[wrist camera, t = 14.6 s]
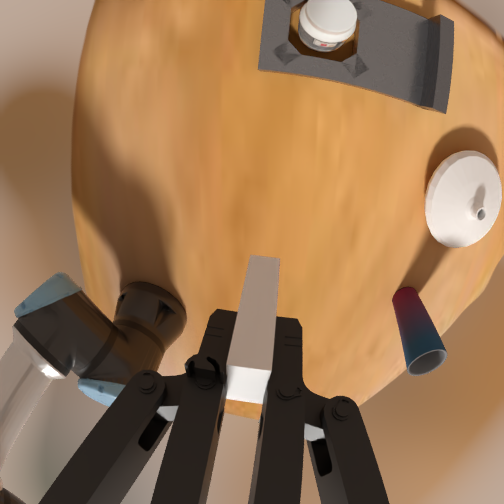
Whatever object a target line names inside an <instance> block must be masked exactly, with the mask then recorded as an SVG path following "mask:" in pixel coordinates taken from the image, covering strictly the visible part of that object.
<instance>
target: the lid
mask: <svg viewBox="0 0 504 504" xmlns="http://www.w3.org/2000/svg"><path fill="white" fill-rule="evenodd" d="M501 199H502V189H501V181H500V177H499V174H498V171H497V169H496V167H495V165H494V164H493V162H492V161H491V160H490V159H489V158H488V157H487V156H486V155H484V154H482V153H480V152H477V151H468V150H465V151H460V152H457V153H454V154H451V155H450V156H449V157H447V158H446V159H445V160H443V161H442V162H441V163H440V165H439V166H438V167H437V168H436V170H435V171H434V173H433V175H432V177H431V179H430V181H429V183H428V187H427V190H426V194H425V206H424V209H425V215H426V221H427V225H428V227H429V229H430V232H431V234H432V235H433V236H434V238H435V239H436V240H437V241H438V242H439V243H441V244H443V245H445V246H447V247H453V248H459V247H466V246H469V245H471V244H473V243H475V242H477V241H478V240H480V239H481V238H482V237H484V236H485V234H486V233H487V232H488V231H489V230H490V229H491V227H492V225H493V224H494V222H495V220H496V218H497V216H498V213H499V210H500V206H501Z"/></svg>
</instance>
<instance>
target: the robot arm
mask: <svg viewBox="0 0 504 504" xmlns="http://www.w3.org/2000/svg"><path fill="white" fill-rule="evenodd" d="M279 267H280V258H272V257H264V256H256V255H250V259H249V264H248V268H247V273H246V277H245V282H244V286H243V291H242V295H241V300H240V305H239V309H238V312H235V311H228V310H222V309H217V310H216V311H215V312H214V313H213V314H212V315H211V316H210V318H209V321H208V324H207V328H206V330H205V334H204V337H203V340H202V343H201V346H200V350H199V353H198V354H196V355H193V356H192V357H190V358H189V359H188V360H187V362H186V363H185V370H186V373H184V374H182V375H176V376H162V375H160V374H159V373H158V372H157V370H158V368H159V365H160V363H161V360H162V358H163V355H164V353H165V351H166V350H167V349H168V348H169V347H170V346H171V345H172V344H173V342H174V341H175V340H176V339H177V338H178V337H179V336H180V335H181V334H182V332H183V330H184V327H185V325H186V314H185V311H184V309H183V307H182V306H181V304H180V303H179V302H178V301H177V300H176V299H175V298H174V297H173V296H172V295H171V294H170V293H168V292H167V291H165V290H164V289H162V288H160V287H158V286H155V285H153V284H149V283H144V282H135V283H131V284H129V285H127V286H126V287H125V288H124V290H123V291H122V293H121V294H120V296H119V298H118V302H117V306H116V311H115V316H114V321H113V323H112V322H111V321H110V320H109V319H108V318H107V317H106V316H105V315H104V314H103V313H102V311H101V310H100V309H99V308H98V307H97V306H96V305H95V304H94V303H93V302H92V301H91V300H90V299H89V298H88V296H87V295H86V294H85V293H84V292H83V291H82V288H81V287H79V286H78V285H76V283H75V282H74V281H73V280H72V279H71V278H70V277H69V276H68V275H67V274H66V273H63V272H59V273H56V274H55V275H53V276H52V277H51V278H49V279H48V280H47V281H46V282H45V283H43V284H42V285H41V286H40V287H39V288H37V289H36V290H35V291H34V292H33V293H32V294H31V295H29V296H28V297H27V298H26V299H25V300H24V301H23V302H22V303H21V304H20V305H19V306H17V307H16V308H15V310H14V312H15V316H16V317H17V318H18V320H17V321H16V323H15V324H14V325H13V327H12V328H13V342H12V344H11V345H10V347H9V348H8V349H7V351H6V352H5V354H4V355H3V357H2V358H1V360H0V470H1V468H2V466H3V464H4V462H5V460H6V458H7V456H8V453H9V452H10V450H11V448H12V446H13V444H14V442H15V441H16V439H17V437H18V435H19V433H20V431H21V430H22V428H23V426H24V424H25V423H26V421H27V419H28V417H29V416H30V414H31V412H32V411H33V409H34V408H35V406H36V404H37V403H38V401H39V400H40V398H41V396H42V395H43V393H44V392H45V390H46V389H47V387H48V386H49V384H50V383H51V381H52V380H53V379H60V378H61V379H62V378H65V377H66V376H67V375H68V373H69V372H70V370H72V371H73V372H74V373H75V374H76V375H78V376H79V377H80V379H79V380H78V388H79V389H80V390H81V391H82V392H83V393H84V394H86V395H87V396H89V397H90V398H92V399H94V400H96V401H97V402H100V403H102V404H104V405H106V406H109V408H108V409H107V411H106V412H105V413H104V415H103V416H102V418H101V419H100V420H99V421H98V423H97V424H96V425H95V427H94V428H93V429H92V431H91V432H90V433H89V435H88V436H87V437H86V439H85V440H84V442H83V443H82V444H81V445H80V447H79V448H78V450H77V451H76V452H75V454H74V455H73V456H72V458H71V459H70V461H69V462H68V463H67V465H66V466H65V467H64V469H63V470H62V472H61V473H60V474H59V476H58V477H57V478H56V480H55V481H54V483H53V484H52V485H51V487H50V488H49V490H48V491H47V493H46V494H45V495H44V497H43V498H42V500H41V501H40V502H39V504H120V503H121V501H122V500H123V498H124V497H125V495H126V494H127V492H128V491H129V489H130V488H131V486H132V485H133V483H134V482H135V480H136V479H137V477H138V476H139V474H140V473H141V471H142V470H143V468H144V466H145V465H146V463H147V462H148V460H149V458H150V457H151V456H152V454H153V452H154V451H155V449H156V448H157V446H158V445H159V443H160V441H161V440H162V438H163V437H164V435H165V434H166V432H167V430H168V429H169V427H170V426H171V424H172V422H173V421H174V422H173V425H172V429H171V433H170V436H169V440H168V443H167V446H166V450H165V453H164V457H163V460H162V464H161V467H160V471H159V475H158V478H157V482H156V486H155V489H154V493H153V497H152V501H151V504H206V500H207V496H208V491H209V486H210V481H211V476H212V471H213V466H214V461H215V456H216V451H217V446H218V441H219V436H220V431H221V426H222V421H223V416H224V406H225V401H226V399H232V400H238V401H245V402H253V403H261V404H263V405H262V413H261V416H260V419H259V431H258V440H257V447H256V454H255V461H254V468H253V475H252V482H251V488H250V495H249V501H248V504H300V497H301V484H302V470H303V469H302V468H303V453H304V439H306V440H307V445H308V448H309V453H310V457H311V461H312V466H313V470H314V474H315V478H316V483H317V487H318V491H319V496H320V500H321V504H389V501H388V497H387V494H386V490H385V487H384V484H383V480H382V477H381V474H380V471H379V468H378V464H377V461H376V458H375V455H374V452H373V449H372V446H371V443H370V440H369V437H368V434H367V432H366V428H365V425H364V423H363V420H362V417H361V414H360V411H359V408H358V406H357V405H356V403H355V402H354V401H353V400H352V399H350V398H348V397H345V396H336V397H333V398H331V399H328V398H325V397H322V396H320V395H317V394H315V393H313V392H311V391H310V390H309V389H308V388H307V387H306V386H305V384H304V382H303V377H302V327H301V325H300V323H299V321H298V319H295V318H286V317H277V316H276V311H277V297H278V282H279ZM0 504H26V503H24V502H23V501H22V500H21V499H19V498H18V497H17V496H15V495H14V494H12V493H11V492H9V491H8V490H6V489H5V488H3V483H2V480H1V478H0Z"/></svg>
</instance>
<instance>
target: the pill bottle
mask: <svg viewBox="0 0 504 504" xmlns="http://www.w3.org/2000/svg"><path fill="white" fill-rule="evenodd" d="M356 20H357V12H356V9H355V7H354V5H353V4H352V3H351V2H350V1H349V0H308V2H307V3H306V4H305V5H304V6H303V7H302V9H301V11H300V16H299V25H298V34H299V37H300V39H301V41H302V42H303V43H304V44H305V45H306V46H307V47H308V48H310V49H312V50H314V51H317V52H331V51H334V50H336V49H338V48H339V47H340V46H341V45H342V44H343V43H344V42H345V41H346V40H347V39H348V38H349V37H350V36H351V35H352V34H353V33H354V31H355V28H356Z"/></svg>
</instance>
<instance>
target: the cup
mask: <svg viewBox="0 0 504 504" xmlns="http://www.w3.org/2000/svg"><path fill="white" fill-rule="evenodd" d="M392 302H393V306H394V310H395V314H396V318H397V322H398V327H399V331H400V336H401V340H402V345H403V350H404V355H405V361H406V366H407V371H408V373H409V374H410V375H413V376H419V375H424V374H427V373H429V372H431V371H433V370H435V369H437V368H438V367H439V366H440V365H442V364H443V363H444V361H445V360H446V358H447V352H446V349H445V347H444V345H443V343H442V341H441V338H440V336H439V334H438V332H437V330H436V328H435V326H434V324H433V322H432V320H431V318H430V316H429V314H428V312H427V310H426V308H425V307H424V305H423V303H422V301H421V299H420V297H419V296H418V294H417V292H416V290H415V289H414V288H412V287H405V288H402V289H400V290H398V291H397V292H396V293H395V294H394V296H393V299H392Z"/></svg>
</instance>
